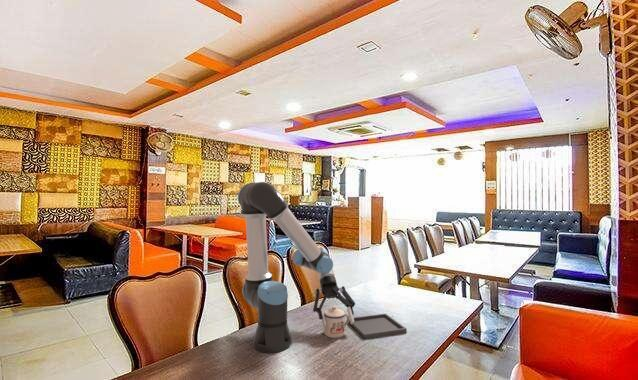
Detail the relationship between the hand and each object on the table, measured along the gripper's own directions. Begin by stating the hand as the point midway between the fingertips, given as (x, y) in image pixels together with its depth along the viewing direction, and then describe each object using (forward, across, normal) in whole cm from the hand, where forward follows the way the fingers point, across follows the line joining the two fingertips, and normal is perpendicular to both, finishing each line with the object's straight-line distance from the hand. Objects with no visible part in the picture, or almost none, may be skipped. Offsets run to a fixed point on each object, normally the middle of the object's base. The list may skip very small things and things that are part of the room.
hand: (339, 324), depth 134 cm
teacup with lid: (+2, 0, -5) cm, 5 cm away
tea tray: (+1, -19, -5) cm, 20 cm away
